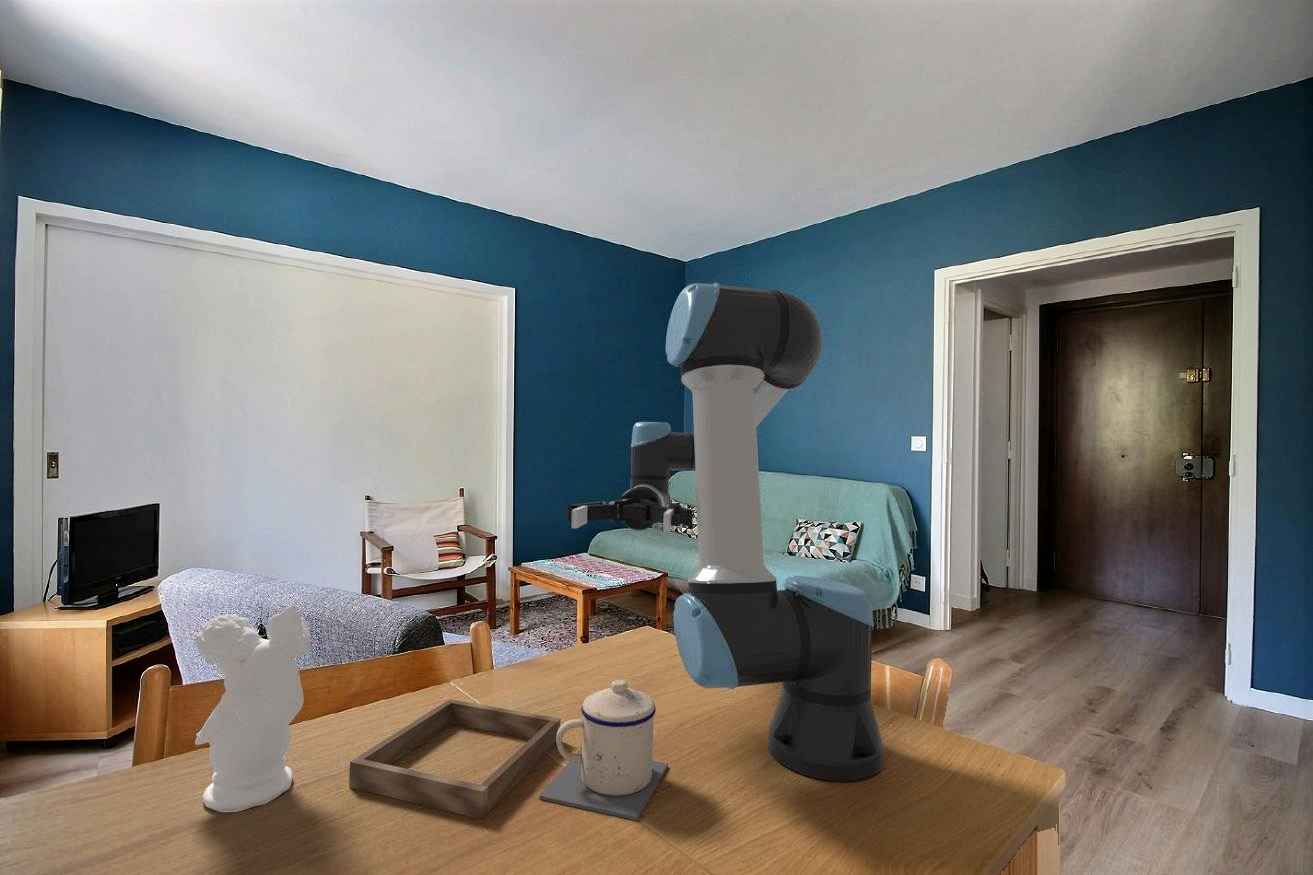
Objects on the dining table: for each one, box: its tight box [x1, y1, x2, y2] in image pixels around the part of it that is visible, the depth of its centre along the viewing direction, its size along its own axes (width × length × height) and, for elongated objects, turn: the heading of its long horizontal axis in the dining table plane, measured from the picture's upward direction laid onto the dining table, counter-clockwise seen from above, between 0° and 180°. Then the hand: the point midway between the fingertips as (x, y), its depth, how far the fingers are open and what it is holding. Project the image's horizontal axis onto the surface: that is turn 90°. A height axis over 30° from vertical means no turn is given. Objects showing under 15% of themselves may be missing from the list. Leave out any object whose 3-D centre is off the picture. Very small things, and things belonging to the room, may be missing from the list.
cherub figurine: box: [194, 603, 312, 813], centre depth 73 cm, size 12×12×22 cm
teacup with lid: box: [556, 679, 657, 796], centre depth 75 cm, size 12×9×12 cm
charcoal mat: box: [538, 747, 669, 821], centre depth 75 cm, size 12×12×1 cm
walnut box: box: [348, 698, 561, 820], centre depth 79 cm, size 18×19×3 cm
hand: (619, 521), depth 90 cm, fingers open, 13 cm apart
